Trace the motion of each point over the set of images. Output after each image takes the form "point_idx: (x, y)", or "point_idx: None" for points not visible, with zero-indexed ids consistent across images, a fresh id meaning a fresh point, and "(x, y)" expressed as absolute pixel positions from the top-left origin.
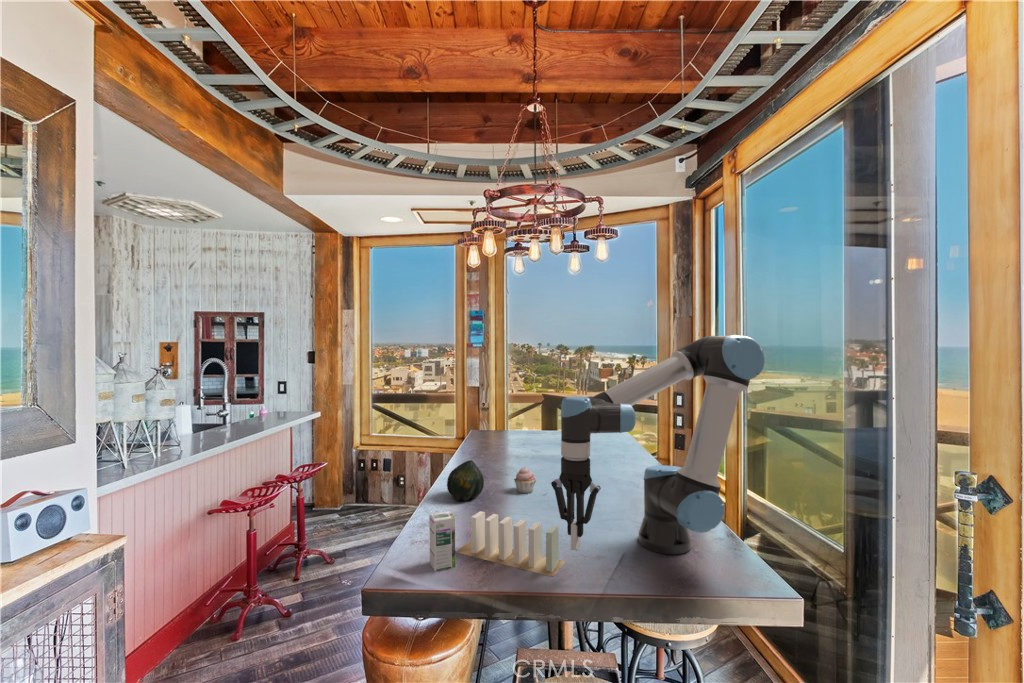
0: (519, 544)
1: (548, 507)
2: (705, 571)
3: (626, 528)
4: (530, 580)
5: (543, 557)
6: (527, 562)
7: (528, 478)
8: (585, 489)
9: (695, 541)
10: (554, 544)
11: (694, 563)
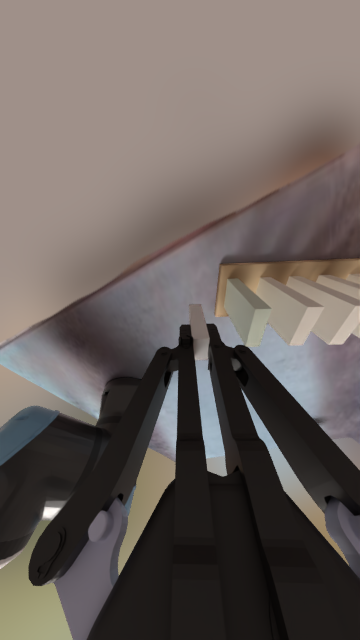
0: (313, 290)
1: None
2: (72, 365)
3: (175, 402)
4: (257, 247)
5: None
6: None
7: None
8: (144, 533)
9: None
10: (239, 309)
11: (89, 373)
